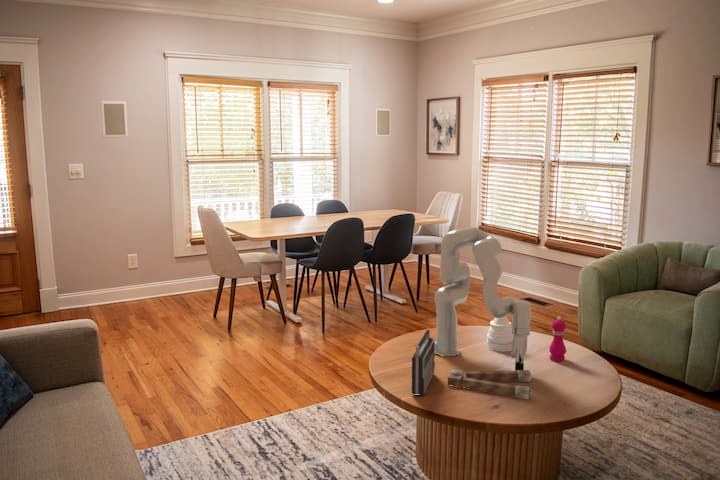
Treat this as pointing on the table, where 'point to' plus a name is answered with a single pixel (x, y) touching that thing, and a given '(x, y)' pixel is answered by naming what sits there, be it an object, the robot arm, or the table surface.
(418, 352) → the radio
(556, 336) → the pepper mill
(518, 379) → the tongs arm
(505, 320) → the honey pot
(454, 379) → the tongs base
